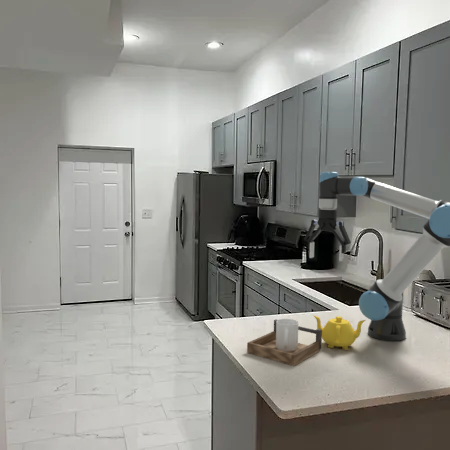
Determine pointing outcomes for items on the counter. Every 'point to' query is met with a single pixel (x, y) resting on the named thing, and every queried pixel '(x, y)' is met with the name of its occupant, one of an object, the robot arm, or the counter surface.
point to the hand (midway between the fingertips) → (326, 259)
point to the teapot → (339, 332)
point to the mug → (287, 335)
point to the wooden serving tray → (268, 350)
